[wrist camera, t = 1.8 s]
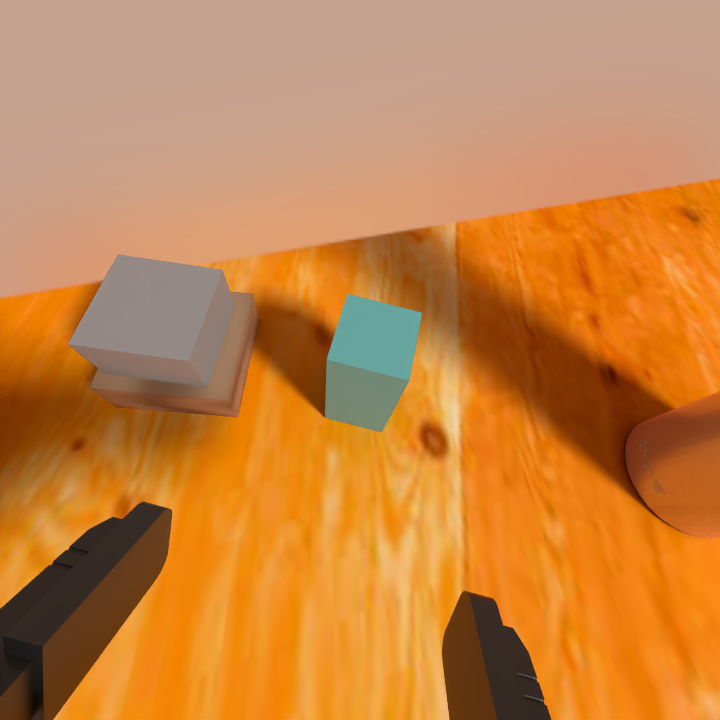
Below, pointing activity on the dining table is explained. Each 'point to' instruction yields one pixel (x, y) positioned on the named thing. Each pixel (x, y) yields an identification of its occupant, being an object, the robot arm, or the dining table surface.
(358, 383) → the teal column
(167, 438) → the dining table surface
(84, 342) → the tower top
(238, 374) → the tower base
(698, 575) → the dining table surface
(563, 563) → the dining table surface
